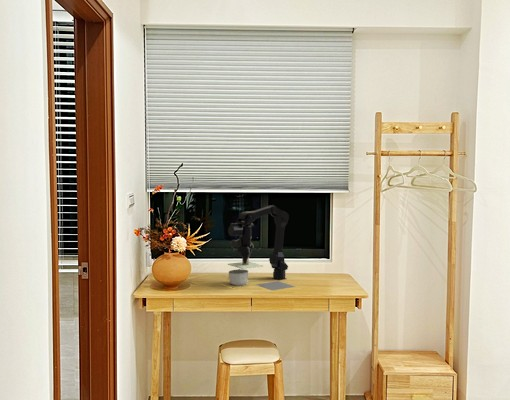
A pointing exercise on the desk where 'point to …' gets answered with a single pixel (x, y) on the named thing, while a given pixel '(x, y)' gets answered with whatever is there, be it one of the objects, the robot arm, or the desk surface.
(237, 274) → the teacup
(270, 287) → the mat
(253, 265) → the lid
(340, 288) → the desk surface
